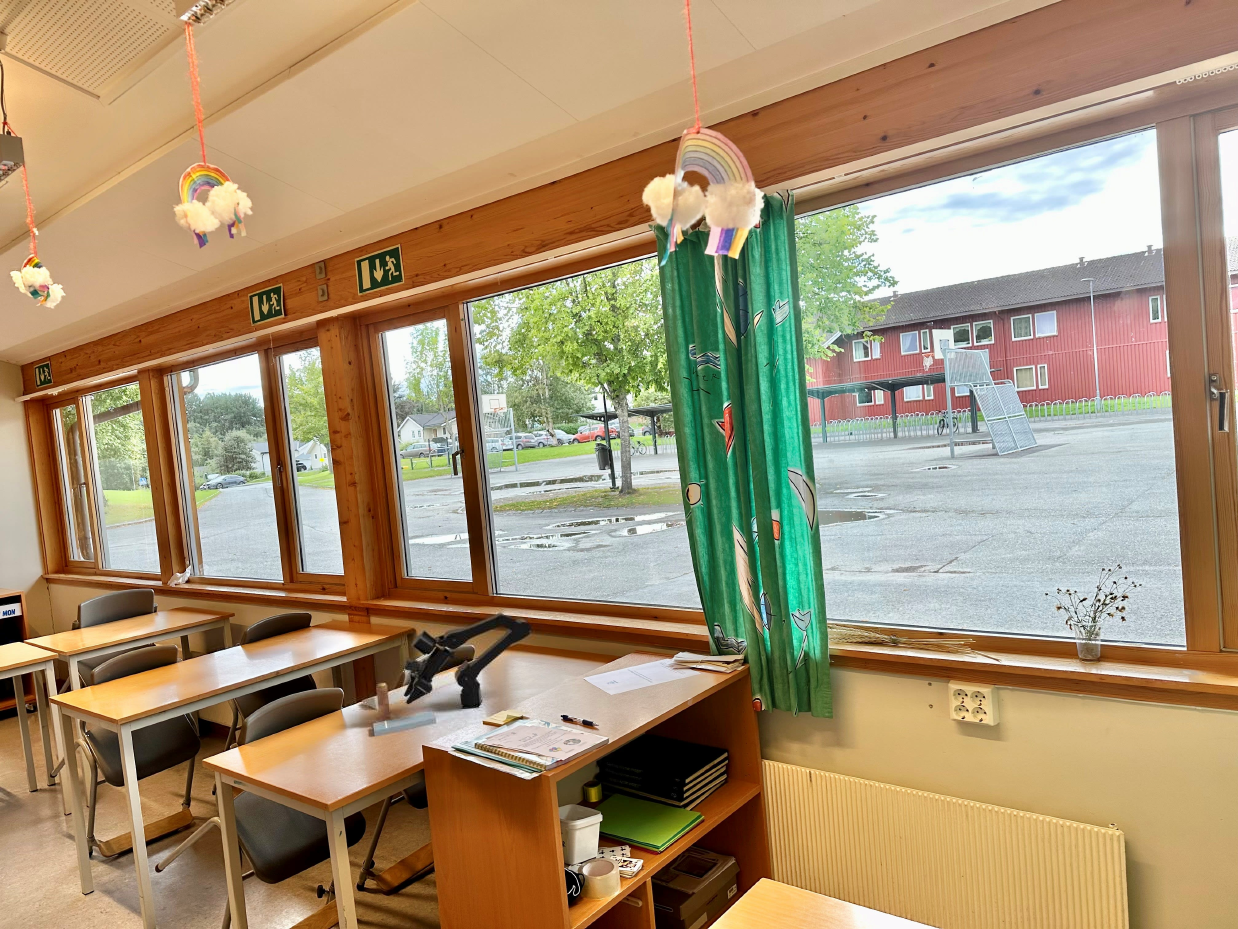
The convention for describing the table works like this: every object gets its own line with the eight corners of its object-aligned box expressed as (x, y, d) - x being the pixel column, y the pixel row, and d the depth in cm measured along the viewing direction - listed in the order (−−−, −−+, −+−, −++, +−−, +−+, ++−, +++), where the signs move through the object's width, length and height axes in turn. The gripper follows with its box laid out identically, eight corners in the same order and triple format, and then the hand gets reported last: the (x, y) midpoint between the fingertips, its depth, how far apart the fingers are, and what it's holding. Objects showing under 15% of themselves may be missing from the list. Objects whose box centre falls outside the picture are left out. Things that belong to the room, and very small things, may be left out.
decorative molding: (365, 713, 288) (377, 710, 281) (362, 700, 288) (373, 697, 282) (443, 686, 312) (456, 683, 305) (440, 674, 313) (453, 671, 306)
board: (433, 716, 268) (433, 710, 268) (436, 723, 260) (435, 717, 260) (373, 728, 261) (373, 723, 261) (374, 736, 253) (374, 730, 253)
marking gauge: (394, 719, 268) (389, 680, 268) (395, 724, 264) (390, 684, 263) (376, 723, 266) (371, 684, 266) (376, 727, 262) (372, 687, 261)
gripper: (413, 643, 277) (385, 680, 274) (418, 655, 260) (388, 694, 256) (438, 661, 280) (410, 697, 277) (444, 673, 263) (415, 712, 259)
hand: (405, 699), depth 267 cm, fingers open, 9 cm apart
